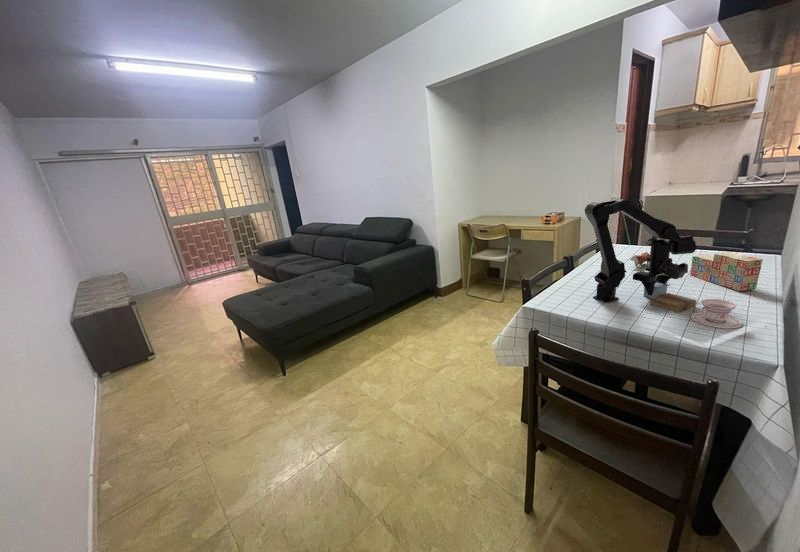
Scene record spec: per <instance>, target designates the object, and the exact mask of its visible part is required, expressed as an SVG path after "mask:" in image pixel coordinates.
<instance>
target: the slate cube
mask: <svg viewBox="0 0 800 552" xmlns="http://www.w3.org/2000/svg"><path fill="white" fill-rule="evenodd" d="M667 290H668V284H667V283H666V284H662V283H658V282H657V283H655V286H654V290H653V293H652V295H651V296H650V295H648V293H647V291H646V289H645V287H644V286H643V297H646V298H650V299H652V298H654V297H657V296H660V295H663V294H667V293H668V292H667Z"/></svg>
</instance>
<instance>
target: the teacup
mask: <svg viewBox="0 0 800 552" xmlns="http://www.w3.org/2000/svg"><path fill="white" fill-rule="evenodd" d="M700 303H701V304H702V306H703V307H701V311H699V312H698V311H697V312H694V313H692V314H691V315H690V318H691V319H692V321H694V322H696V323H698V324H700V325H703V326H706V327H711V328H716V329H728V330H729V329H731V330H732V329H739V328H741V327H742V326H743V325H744V324H743V321H741V319H739V318H736V317H734V316H732V315H729V314H730V313H732V311H733V310H734V309H736V307H737V303H735V302H733V301H730V300H727V299H721V298H719V299H718V298H706V299H703V300H701V301H700ZM724 321H725V323H723V322H724Z"/></svg>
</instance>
